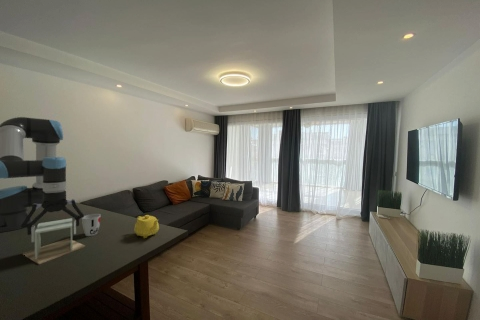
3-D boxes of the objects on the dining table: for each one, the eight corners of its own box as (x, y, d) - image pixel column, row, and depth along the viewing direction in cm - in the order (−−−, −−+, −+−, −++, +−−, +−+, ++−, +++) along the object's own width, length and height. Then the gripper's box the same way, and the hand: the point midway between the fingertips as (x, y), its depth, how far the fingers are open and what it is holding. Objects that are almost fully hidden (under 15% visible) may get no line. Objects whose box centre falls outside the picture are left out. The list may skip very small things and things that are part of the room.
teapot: (166, 234, 105) (166, 216, 105) (148, 242, 96) (148, 222, 95) (146, 227, 114) (146, 210, 114) (128, 234, 104) (128, 215, 104)
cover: (38, 248, 86) (38, 223, 86) (72, 240, 94) (72, 218, 94) (34, 259, 78) (34, 232, 77) (72, 250, 85) (72, 225, 85)
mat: (22, 254, 82) (22, 253, 82) (68, 239, 97) (68, 238, 97) (39, 264, 75) (39, 263, 75) (85, 246, 90) (85, 245, 90)
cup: (90, 238, 99) (90, 219, 98) (77, 236, 100) (77, 218, 100) (104, 231, 107) (104, 214, 106) (92, 230, 108) (92, 213, 108)
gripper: (9, 196, 74) (10, 248, 75) (90, 189, 90) (90, 232, 92) (14, 192, 79) (15, 241, 80) (89, 186, 96) (89, 227, 97)
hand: (55, 236), depth 86 cm, fingers open, 13 cm apart
